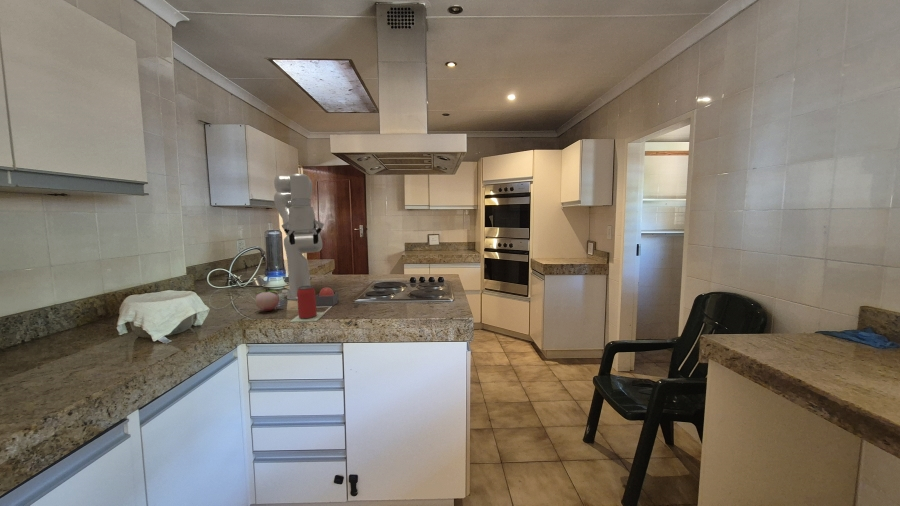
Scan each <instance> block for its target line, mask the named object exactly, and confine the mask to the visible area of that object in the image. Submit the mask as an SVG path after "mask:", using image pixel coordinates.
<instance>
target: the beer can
mask: <svg viewBox="0 0 900 506" xmlns="http://www.w3.org/2000/svg"><path fill="white" fill-rule="evenodd" d="M316 296H317V295H316V290H315V288H314V286H313V285H310V286H301V287H299V288H298V292H297V299H298V300H297V308H298V309H297V311H298V312H297V313H298V315H299V317H300V318H302V319H309V318H313V317H315V316H316V315H317V312H318V311H317V308H316Z"/></svg>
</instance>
